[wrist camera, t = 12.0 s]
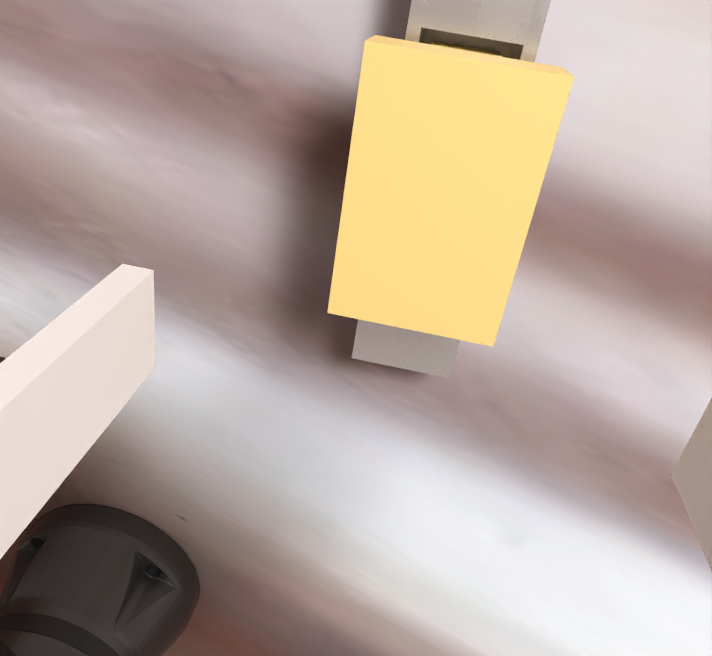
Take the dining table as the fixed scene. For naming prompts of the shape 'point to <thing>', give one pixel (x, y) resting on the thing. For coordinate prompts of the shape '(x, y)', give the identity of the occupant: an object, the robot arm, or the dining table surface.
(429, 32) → the rail
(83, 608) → the robot arm
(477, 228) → the yellow bridge
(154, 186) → the dining table surface
